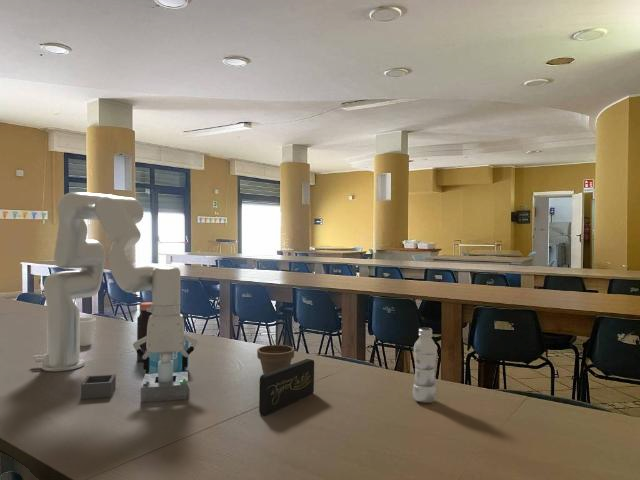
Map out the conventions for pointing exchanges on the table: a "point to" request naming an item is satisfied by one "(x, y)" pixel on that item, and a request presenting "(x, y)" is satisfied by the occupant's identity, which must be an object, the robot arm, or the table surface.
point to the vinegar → (143, 326)
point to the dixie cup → (86, 330)
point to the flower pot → (275, 357)
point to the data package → (174, 356)
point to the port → (164, 388)
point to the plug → (165, 368)
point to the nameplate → (286, 386)
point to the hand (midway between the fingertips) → (165, 371)
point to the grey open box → (98, 386)
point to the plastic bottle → (424, 367)
